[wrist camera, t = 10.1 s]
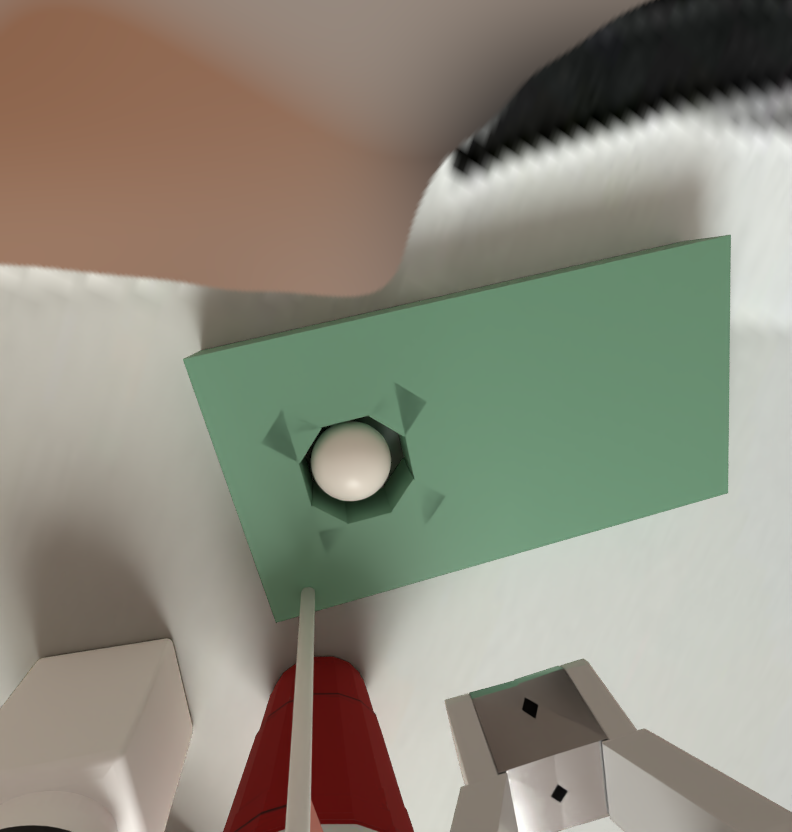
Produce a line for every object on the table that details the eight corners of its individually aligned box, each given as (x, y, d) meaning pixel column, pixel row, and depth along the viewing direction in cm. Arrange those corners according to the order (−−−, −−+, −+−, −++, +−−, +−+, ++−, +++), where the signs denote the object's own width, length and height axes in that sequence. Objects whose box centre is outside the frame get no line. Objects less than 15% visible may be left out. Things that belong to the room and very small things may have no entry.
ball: (396, 416, 21) (319, 447, 19) (413, 491, 22) (342, 526, 21) (358, 405, 25) (290, 430, 23) (374, 471, 26) (311, 500, 24)
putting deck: (682, 241, 24) (1191, 170, 10) (687, 498, 29) (1041, 696, 15) (200, 350, 22) (-22, 458, 8) (289, 611, 27) (252, 981, 12)
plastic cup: (304, 586, 26) (291, 811, 15) (434, 670, 30) (506, 909, 18) (188, 712, 27) (94, 1013, 16) (326, 780, 31) (330, 1072, 19)
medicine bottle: (37, 655, 25) (-204, 964, 13) (173, 634, 26) (56, 905, 14) (70, 753, 27) (-116, 1095, 15) (195, 729, 28) (108, 1035, 16)
